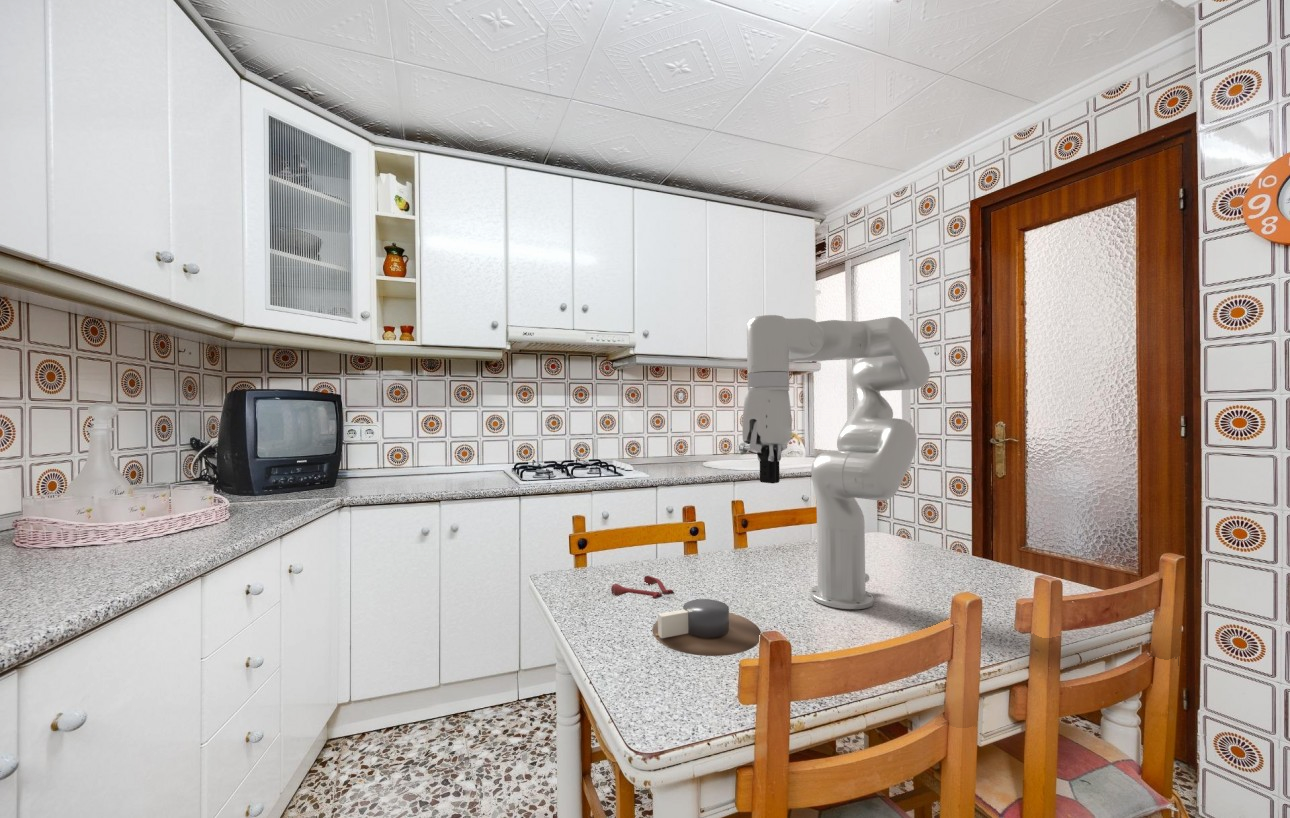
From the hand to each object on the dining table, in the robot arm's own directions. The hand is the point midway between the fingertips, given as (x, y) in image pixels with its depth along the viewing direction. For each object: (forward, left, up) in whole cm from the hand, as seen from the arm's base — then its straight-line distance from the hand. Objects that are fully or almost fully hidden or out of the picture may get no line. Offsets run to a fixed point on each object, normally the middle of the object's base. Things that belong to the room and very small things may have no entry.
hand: (769, 482), depth 92 cm
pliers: (+5, -27, -28) cm, 39 cm away
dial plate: (+12, -6, -27) cm, 30 cm away
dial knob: (+14, -7, -25) cm, 29 cm away
